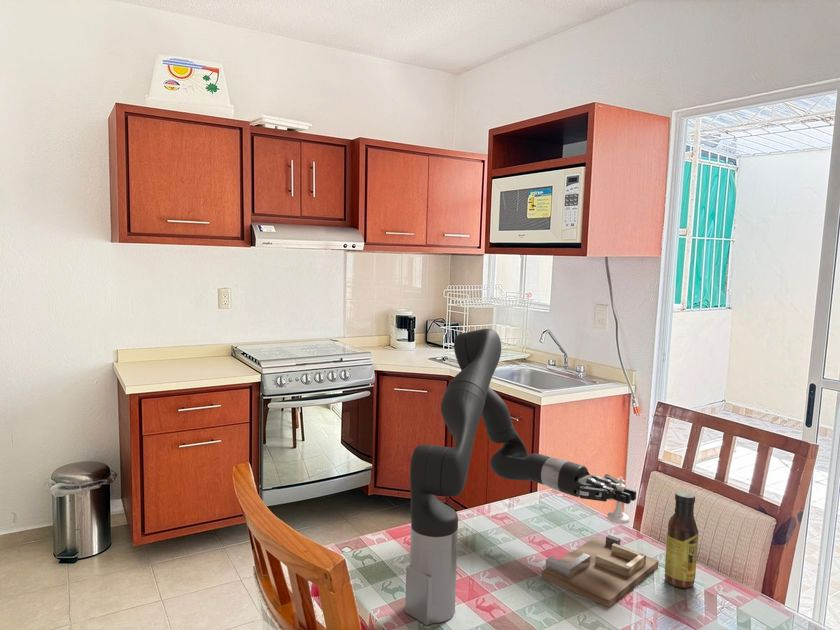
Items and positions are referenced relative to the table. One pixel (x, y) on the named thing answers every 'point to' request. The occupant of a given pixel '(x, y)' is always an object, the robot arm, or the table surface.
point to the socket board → (605, 570)
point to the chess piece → (619, 508)
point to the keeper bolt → (568, 565)
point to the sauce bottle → (682, 543)
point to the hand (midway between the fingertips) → (632, 497)
